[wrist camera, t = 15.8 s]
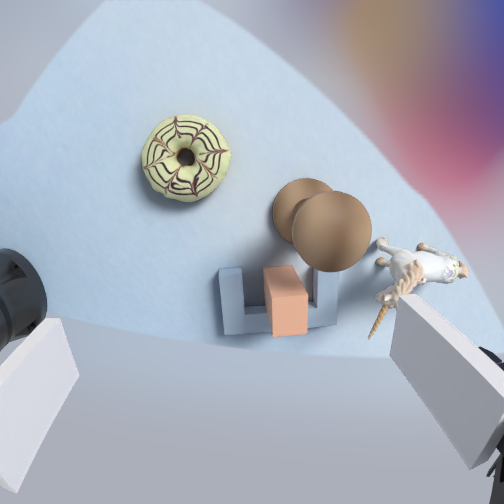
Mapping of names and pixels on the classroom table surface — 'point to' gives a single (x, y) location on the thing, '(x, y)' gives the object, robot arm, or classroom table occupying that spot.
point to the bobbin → (322, 224)
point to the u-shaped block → (256, 317)
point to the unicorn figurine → (414, 272)
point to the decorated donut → (188, 177)
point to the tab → (285, 301)
